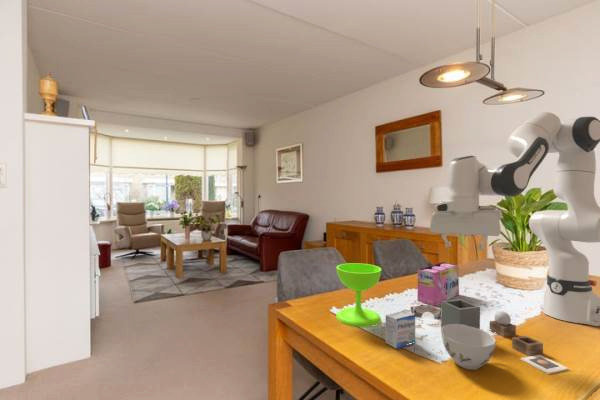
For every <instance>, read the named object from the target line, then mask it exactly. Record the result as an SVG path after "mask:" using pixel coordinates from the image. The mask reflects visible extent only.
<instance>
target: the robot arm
mask: <svg viewBox="0 0 600 400" xmlns="http://www.w3.org/2000/svg"><path fill="white" fill-rule="evenodd" d="M598 144H600V120H599V119H598V118H597V117H596V116H580V117H577V118H570V119H565V120H561V119H560V118H559V116H558V115H556V114H555V113H552V112H547V111H544V112H539V113H537V114H534V115H533V116H531V117H530V118H528V119H527V120H525V121H524V122H522V124H520V125H519V126H518V127H516V129H515V130H514V131H513V132H512V133H510V135H509V137H508V139H507V148H508V150H509V151H510V153H511V154H512V155H514V156H515V157H516V160H514V161H512V162H510V163H509V162H508V163H504V164H498V165H485V164H484V163H481V162H480V161H479V160H478V159H477V157H476V156H475V155H467V156H461V157H455V158H454V159H452V160H451V161H450V163H449V165H448V171H447V173H448V176H447V181H448V182H447V183H448V184H447V185H448V188H449V193H448V197H447V198H448V200H447V201H442V202H441V203H437V204H435V205H434V206H433V211H434V212H433V213H432V215H431V217H430V223H429V231H430V232H431V233H432V234H441V239H442V240H443V241H444V244H445V245H444V246H445V248H451V247H452V244H451V243H452V242H451V241H448V239H447V236H448V235H464V236H465V235H468V236H481V239H482V241H481V243H477V250H478V251H479V250H480V251H484V244H486V242H487V240H488V236H489V237H498V236H500V235H501V233H502V232H501V230H502V229H501V222H500V221H501V220H502V218H503V214H502V213H503V211H502V209H500V208H499V207H497V206H495V205H491V206H489V205H480V196H502V197H511V198H513V197H517V196H519V195H521V194H522V193H523V192H524V191H526V188H528V185H529V183H530V180H531V178H532V176H533V174H534V173H535V172H536V171H537V169H538V167H540V165H541V163H542V162H543V161H544V159H545V158H546V157H547V155H548V154H555V153H558V155H559V156H558V159H557V163H556V167H555V174H554V180H553V181H554V182H553V194H554V196H556V197H557V198H559V199H560V200H563V201H564V202H566V203H565V204H566V205H567V210H563V209H561V210H560V209H546V210H545V209H544V210H540V211H535V212H534V213H532V215H531V216H530V218H529V219H528V227H529V229H530V231H531V232H532V234H534V236H536V237H537V238H538V239H539V240H540V241H541V243H542V244H543V246H544V248H545V250H546V253H547V260H548V274H547V276H546V285H547V286H545V288H544V293H543V300H542V304H540V306H539V308H540V309H541V310H542V312H543V313H544V314H545V315H547V316H549V317H551V318H554V319H558V320H561V321H565V322H570V323H576V324H583V325H588V326H589V325H590V326H594V327H600V296H599V295H597V294H596V293H595V292H594V291H593V287H597V283H598V282H597V280H591V279H589V274H590V273H589V271H590V270H589V267H590V265H589V263H590V261H589V259H588V257H587V256H586V255H585V254H584V253H582V252H580V251H578V250H577V249H576V247H574V245H573V242H580V243H589V244H590V243H600V205H599V204H598V202H597V200H596V197H595V181H596V180H595V179H596V171H597V161H596V153H595V148H596V147H597V146H598Z"/></svg>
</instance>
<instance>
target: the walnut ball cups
mask: <svg viewBox="0 0 600 400" xmlns="http://www.w3.org/2000/svg"><path fill="white" fill-rule="evenodd" d="M490 329H491V330H492V331H494V332H496V333H497V334H496V333H495V334H496V335H498V336H501V337H502V338H508V337H512V339H511V340H512V341H511V342H512V344H511V345H512V346H511V349H514V350H516V351H517V352H520V354H521V353H522V354H523V355H525V356H526V357H529V356H534V355H543V354H544V342H541V341H539V340H538V339H537V340H536V339H534V338H531V337H530V336H527V335H521V336H517V325H515V324H513V323H511V322H510V324H509V325H506V326H502V325H500V324H498V323H497V322H496V321H495V320H490V321H489V330H490ZM492 331H491V332H492ZM494 332H493V333H494ZM513 336H515V337H513Z"/></svg>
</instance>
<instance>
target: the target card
mask: <svg viewBox="0 0 600 400" xmlns="http://www.w3.org/2000/svg"><path fill="white" fill-rule="evenodd" d="M520 361H522V362H524V363H526V364H527V365H530V366H532V367H534V368H535V369H536V370H537V369H538V370H539V371H541V372H544V373H545V374H547V375H550V374H555V373H559V372H563V371H564V372H565V371H569V368H568V367H567V366H565V365H562V364H560V363H558V362H557V361H554V360H552V359H549V358H548V357H546V356H544V355H543V354H541V355H534V356H525V357H521V358H520Z"/></svg>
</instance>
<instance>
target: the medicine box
mask: <svg viewBox="0 0 600 400" xmlns="http://www.w3.org/2000/svg"><path fill="white" fill-rule="evenodd" d="M413 342H415V343H416V315H415V314H414V313H412V312H411V311H410V312H409V311H407V310H402V311H397V312H394V313H393V312H392V313H388V314H385V343H386V344H387V345H389V346H391V347H392V348H394V349H396V350H397V349H401V348H404V347H403V346H405V345H407V344H409V343H413ZM405 347H406V346H405Z"/></svg>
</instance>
